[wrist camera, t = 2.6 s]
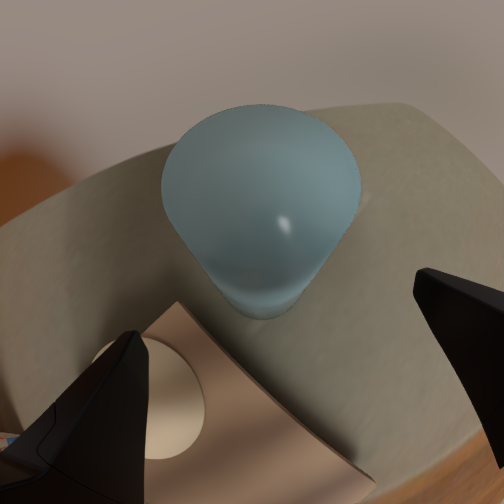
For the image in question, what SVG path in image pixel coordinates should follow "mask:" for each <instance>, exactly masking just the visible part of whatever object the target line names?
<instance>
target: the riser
mask: <svg viewBox="0 0 504 504" xmlns="http://www.w3.org/2000/svg"><path fill="white" fill-rule="evenodd" d="M140 336H141V338H142V339H143V341H144V343H145V345H146V347H147V349H148V352H149V404H148V415H147V428H146V444H145V469H144V501H145V502H146V503H147V504H357V503H358V502H359V501H360V500H362V499H363V498H364V497H365V496H366V495H368V494H369V493H370V492H371V491H372V490H373V489H375V488H376V487H377V486H378V484H377V483H376V482H375V481H374V480H373V479H372V478H371V477H370V476H369V475H368V474H366V473H365V472H363V471H362V470H361V469H359V468H358V467H357V466H355V465H354V464H353V463H351V462H350V461H348V460H347V459H346V458H345V457H343V456H342V455H341V454H339V453H338V452H337V451H335V450H334V449H333V448H332V447H330V446H329V445H328V444H327V443H325V442H324V441H323V440H322V439H321V438H319V437H318V436H317V435H316V434H314V433H313V432H312V431H311V430H310V429H309V428H307V427H306V426H305V425H304V424H303V423H301V422H300V421H299V420H298V419H297V418H296V417H295V416H293V415H292V414H291V413H290V412H289V411H288V410H287V409H286V408H285V407H283V406H282V405H281V404H280V403H279V402H278V401H277V400H276V399H275V398H274V397H273V396H271V395H270V394H269V393H268V392H267V391H266V390H265V389H264V388H263V387H262V386H261V385H260V384H259V383H258V382H257V381H256V380H255V379H254V378H253V377H252V376H251V375H250V374H249V373H248V372H247V371H245V370H244V369H243V368H242V367H241V365H240V364H239V363H238V362H237V361H236V360H235V359H234V358H233V357H232V356H231V355H230V354H229V353H228V352H227V351H226V350H225V349H224V348H223V347H222V346H221V345H220V344H219V343H218V342H217V341H216V340H215V338H214V337H213V336H212V335H211V334H210V333H209V332H208V331H207V330H206V329H205V328H204V326H203V325H202V324H201V323H200V322H199V321H198V320H197V319H196V318H195V316H194V315H193V314H192V313H191V312H190V311H189V310H188V308H187V307H186V306H185V305H184V304H182V303H180V302H178V301H176V302H175V303H174V304H173V305H172V306H171V307H170V308H169V309H168V310H167V311H166V312H165V313H164V314H163V315H161V316H160V317H159V318H158V319H157V320H156V321H155V322H154V323H153V324H152V325H151V326H150V327H149V328H148V329H147V330H145V331H144V332H143V333H142V334H141V335H140ZM113 342H114V341H112V342H111V343H109V344H107V345H106V346H105V347H104V348H102V349H101V350H100V351H99V353H98V354H97V355H96V356H95V358H94V360H93V361H92V363H93V362H94V361H95V360H96V359H97V358H98V357H99V356H100V355H101V354H102V353H103V352H104V351H105V350H106V349H107V348H108V347H109V346H110V345H111V344H112V343H113ZM92 363H91V364H92Z"/></svg>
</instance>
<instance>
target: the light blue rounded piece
mask: <svg viewBox="0 0 504 504" xmlns="http://www.w3.org/2000/svg"><path fill="white" fill-rule="evenodd" d="M161 196H162V201H163V206H164V209H165V212H166V215H167V217H168V219H169V220H170V222H171V224H172V226H173V227H174V229H175V230H176V232H177V233H178V235H179V236H180V237H181V239H182V240H183V242H184V243H185V244H186V246H187V247H188V249H189V250H190V251H191V253H192V254H193V256H194V257H195V258H196V260H197V261H198V263H199V264H200V265H201V267H202V268H203V269H204V271H205V272H206V273H207V275H208V276H209V278H210V279H211V280H212V282H213V283H214V284H215V286H216V287H217V288H218V290H219V291H220V292H221V294H222V295H223V296H224V297H225V299H226V300H227V301H228V303H229V304H230V305H231V306H232V308H234V309H235V310H236V311H237V312H238V313H240V314H242V315H244V316H245V317H248V318H251V319H257V320H267V319H272V318H275V317H278V316H280V315H282V314H284V313H285V312H287V311H288V310H289V309H290V308H291V307H292V306H293V305H294V304H295V302H296V301H297V300H298V298H299V297H300V296H301V294H302V293H303V292H304V290H305V289H306V288H307V286H308V285H309V283H310V282H311V281H312V279H313V278H314V277H315V275H316V274H317V272H318V271H319V270H320V268H321V267H322V265H323V264H324V263H325V261H326V260H327V258H328V257H329V255H330V254H331V253H332V251H333V250H334V248H335V247H336V245H337V244H338V242H339V241H340V239H341V238H342V237H343V235H344V234H345V232H346V231H347V229H348V228H349V226H350V224H351V222H352V221H353V219H354V217H355V215H356V212H357V209H358V206H359V202H360V196H361V180H360V173H359V170H358V166H357V163H356V161H355V159H354V156H353V154H352V152H351V151H350V149H349V148H348V146H347V145H346V143H345V142H344V141H343V140H342V139H341V137H340V136H339V135H338V134H337V133H336V132H335V131H333V130H332V129H331V128H330V127H329V126H327V125H326V124H324V123H323V122H321V121H320V120H318V119H316V118H315V117H313V116H310V115H308V114H306V113H304V112H301V111H298V110H295V109H292V108H287V107H283V106H276V105H261V104H260V105H246V106H240V107H235V108H231V109H227V110H224V111H221V112H218V113H216V114H214V115H212V116H210V117H208V118H206V119H204V120H202V121H201V122H199V123H198V124H196V125H195V126H194V127H192V128H191V129H190V130H189V131H188V132H187V133H186V134H184V135H183V136H182V138H181V139H180V140H179V141H178V142H177V143H176V145H175V146H174V148H173V149H172V151H171V152H170V154H169V156H168V159H167V161H166V163H165V166H164V170H163V173H162V180H161Z"/></svg>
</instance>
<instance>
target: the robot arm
mask: <svg viewBox="0 0 504 504" xmlns="http://www.w3.org/2000/svg"><path fill="white" fill-rule="evenodd" d="M413 296H414V298H415V300H416V302H417V304H418V306H419V308H420V310H421V312H422V313H423V315H424V317H425V319H426V321H427V323H428V325H429V327H430V329H431V331H432V333H433V334H434V336H435V338H436V339H437V341H438V343H439V344H440V346H441V348H442V349H443V351H444V353H445V354H446V356H447V358H448V360H449V361H450V363H451V365H452V367H453V368H454V370H455V372H456V374H457V376H458V377H459V379H460V381H461V383H462V385H463V387H464V389H465V391H466V393H467V394H468V396H469V398H470V400H471V402H472V405H473V407H474V409H475V411H476V413H477V415H478V417H479V419H480V422H481V424H482V426H483V429H484V431H485V433H486V436H487V438H488V441H489V443H490V446H491V448H492V451H493V453H494V456H495V459H496V462H497V464H498V467H499V469H501V468H502V467H504V292H502V291H499V290H496V289H493V288H490V287H487V286H484V285H481V284H478V283H475V282H472V281H469V280H466V279H463V278H460V277H457V276H454V275H450V274H447V273H444V272H441V271H438V270H434V269H431V268H423V269H420V270H418V271H417V272H416V276H415V282H414V287H413ZM148 404H149V352H148V349H147V347H146V345H145V343H144V341H143V339H142V338H141V336H140V334H139V332H138V331H136V330H132V331H125V332H124V333H123V334H121V335H120V336H119V337H118V338H117V339H116V340H115V341H114V342H113V343H112V344H111V345H110V346H109V347H108V348H107V349H106V350H105V351H104V352H103V353H102V354H101V355H100V356H99V357H98V358H97V359H96V360H95V361H94V362H93V363H92V364H91V365H90V366H89V367H88V368H87V369H86V370H85V371H84V372H83V373H82V374H81V375H80V376H79V377H78V378H77V379H76V380H75V381H74V382H73V383H72V384H71V385H70V386H69V387H68V388H67V389H66V390H65V391H64V392H63V393H62V394H61V395H60V396H59V397H58V398H57V399H56V401H55V402H53V404H52V405H51V406H50V407H49V408H48V409H47V410H46V411H45V412H44V413H43V414H42V415H41V416H40V417H39V418H38V419H37V420H36V421H35V422H34V423H33V424H32V425H30V426H29V427H28V428H27V429H26V430H25V431H24V432H23V433H22V434H21V435H19V436H18V437H17V438H16V439H15V440H14V441H13V442H12V443H11V444H10V445H8V446H7V447H6V448H5V449H4V450H3V451H1V452H0V504H144V469H145V444H146V428H147V415H148Z"/></svg>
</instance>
